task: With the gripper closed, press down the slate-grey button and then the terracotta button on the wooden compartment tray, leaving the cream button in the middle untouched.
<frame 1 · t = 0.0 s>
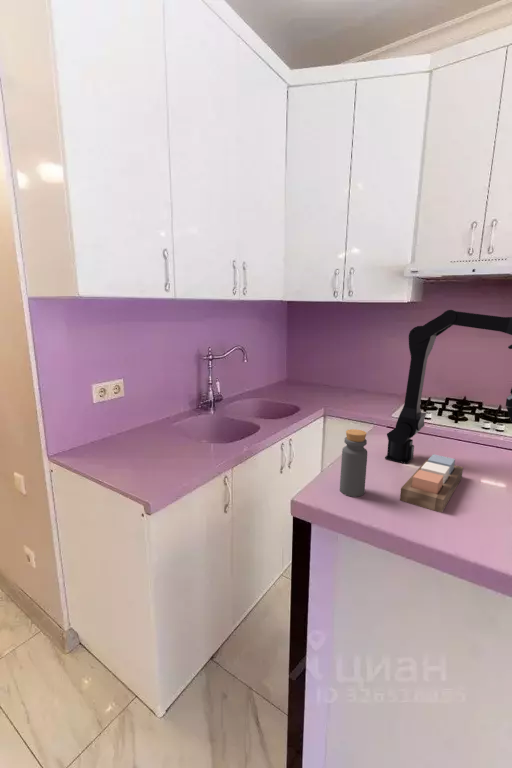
button terracotta: (427, 483, 89), point 4 cm above the counter, slide at 0.0 cm
bottle: (351, 492, 92), on the counter
wooden compartment tray: (433, 488, 95), on the counter
button slate: (440, 465, 100), point 4 cm above the counter, slide at 0.0 cm
button cream: (434, 474, 94), point 4 cm above the counter, slide at 0.0 cm
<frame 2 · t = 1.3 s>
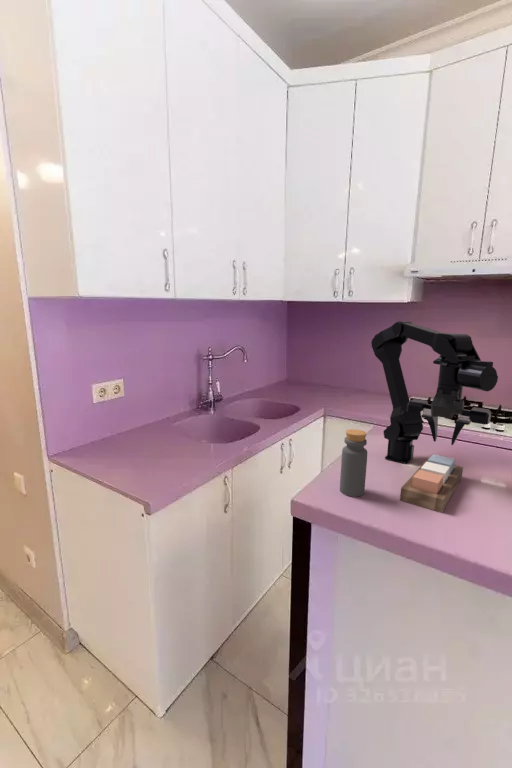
hand: (443, 442, 98), 10 cm above the counter, fingers open, 4 cm apart
nothing on the counter moved.
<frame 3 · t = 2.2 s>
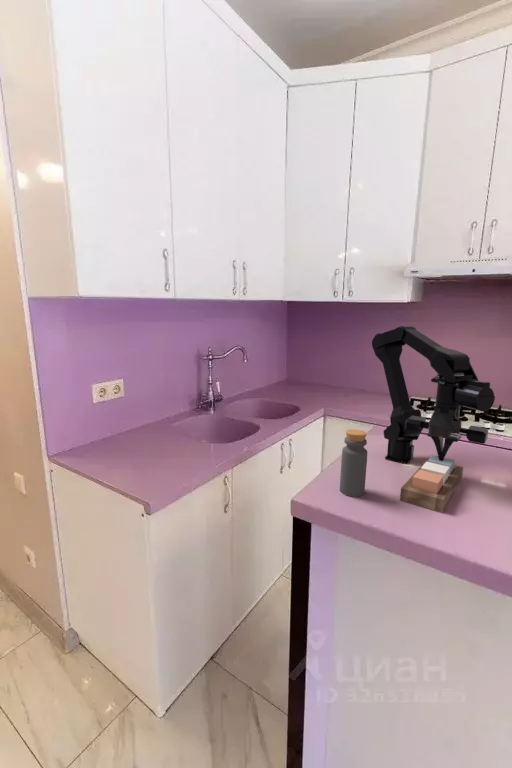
hand: (441, 460, 99), 5 cm above the counter, fingers closed, pressing on button slate
button slate: (440, 466, 100), point 4 cm above the counter, slide at 0.2 cm, touching gripper
everything else where it was.
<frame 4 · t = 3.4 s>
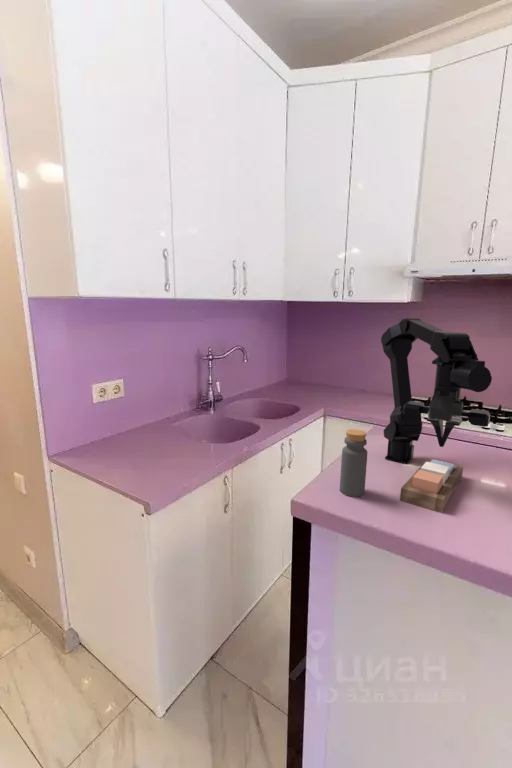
hand: (441, 446, 94), 10 cm above the counter, fingers closed
button slate: (440, 470, 100), point 2 cm above the counter, slide at 1.4 cm
everything else where it was.
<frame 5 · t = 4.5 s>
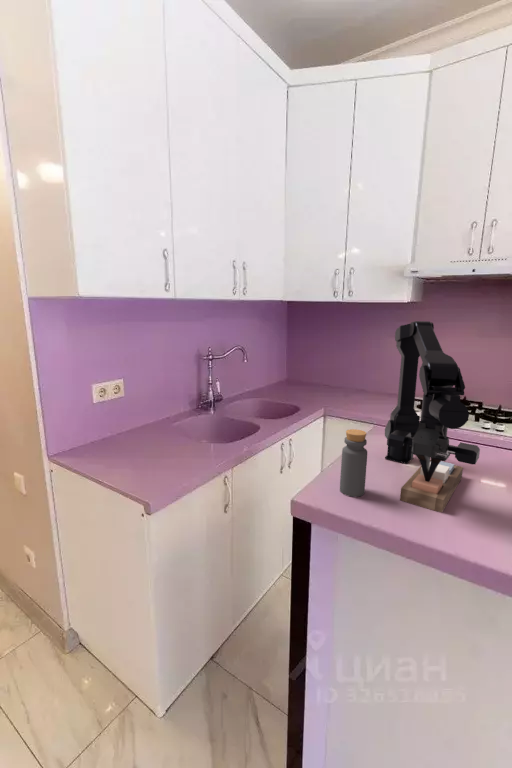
hand: (427, 480, 89), 4 cm above the counter, fingers closed, pressing on button terracotta
button terracotta: (427, 488, 89), point 3 cm above the counter, slide at 1.2 cm, touching gripper
everything else where it was.
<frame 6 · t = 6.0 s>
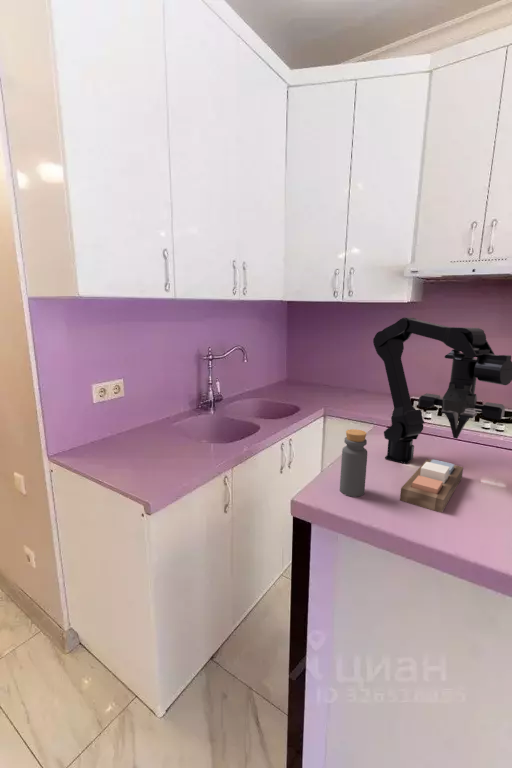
hand: (455, 438, 98), 12 cm above the counter, fingers closed
button terracotta: (426, 489, 89), point 2 cm above the counter, slide at 1.4 cm
everything else where it was.
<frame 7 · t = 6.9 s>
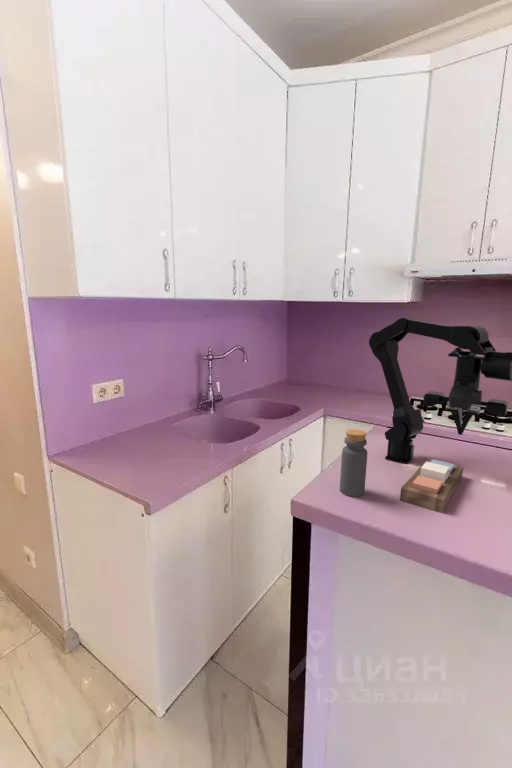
hand: (460, 434, 99), 12 cm above the counter, fingers closed
nothing on the counter moved.
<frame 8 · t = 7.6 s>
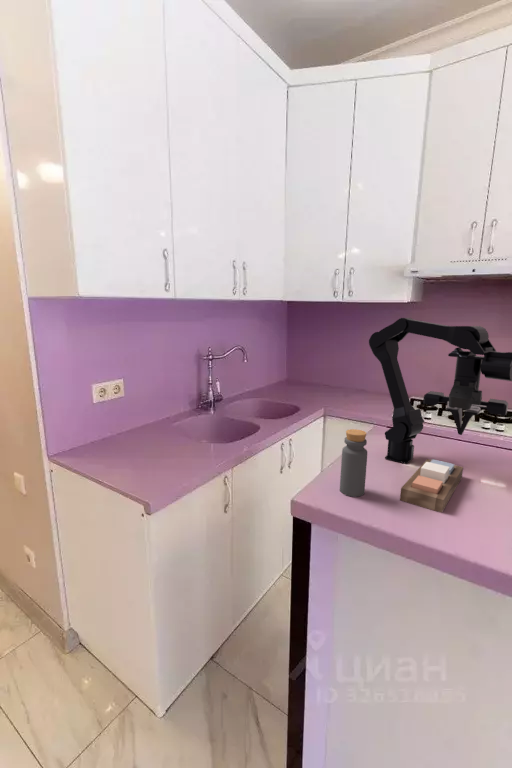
hand: (460, 434, 99), 12 cm above the counter, fingers closed
nothing on the counter moved.
at the end: button slate slide at 1.4 cm; button terracotta slide at 1.4 cm; button cream slide at 0.0 cm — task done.
